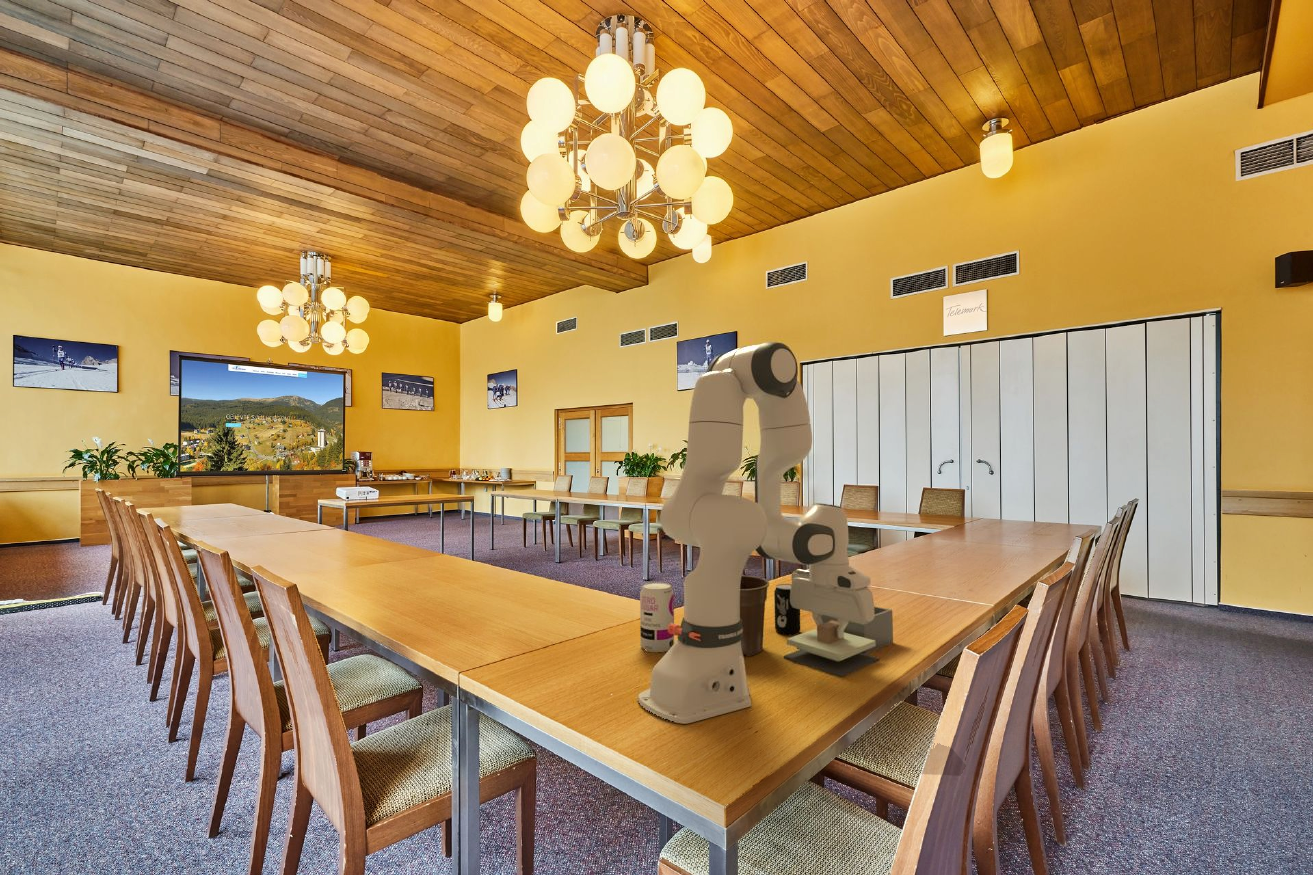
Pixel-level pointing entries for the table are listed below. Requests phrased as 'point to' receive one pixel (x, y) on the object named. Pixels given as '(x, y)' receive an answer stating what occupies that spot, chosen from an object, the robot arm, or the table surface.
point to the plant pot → (752, 613)
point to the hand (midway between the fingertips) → (830, 635)
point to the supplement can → (656, 616)
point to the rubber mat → (832, 662)
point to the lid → (830, 642)
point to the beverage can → (785, 611)
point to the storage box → (871, 628)
